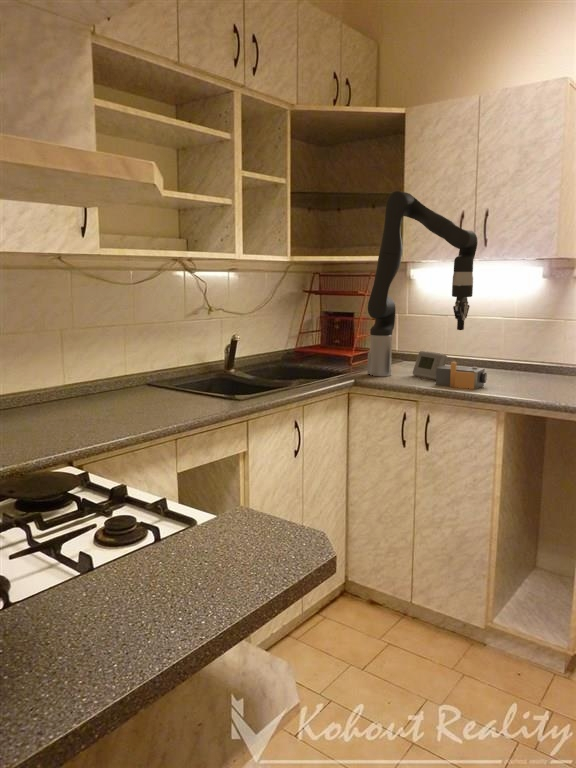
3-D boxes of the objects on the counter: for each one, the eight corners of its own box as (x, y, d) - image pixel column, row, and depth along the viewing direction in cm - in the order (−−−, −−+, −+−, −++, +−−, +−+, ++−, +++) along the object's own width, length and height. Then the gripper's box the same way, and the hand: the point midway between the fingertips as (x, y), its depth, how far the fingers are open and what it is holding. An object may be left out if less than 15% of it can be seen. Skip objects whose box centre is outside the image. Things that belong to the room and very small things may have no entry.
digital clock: (410, 375, 258) (411, 350, 256) (429, 374, 261) (430, 350, 259) (430, 381, 243) (431, 355, 241) (449, 380, 245) (451, 354, 243)
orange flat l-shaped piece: (449, 386, 230) (450, 362, 229) (450, 386, 232) (451, 361, 230) (476, 389, 225) (477, 364, 223) (477, 388, 227) (478, 363, 225)
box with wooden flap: (435, 384, 235) (436, 366, 234) (443, 381, 243) (444, 363, 241) (481, 389, 226) (482, 370, 225) (487, 385, 233) (488, 367, 232)
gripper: (458, 284, 236) (456, 328, 239) (447, 284, 225) (445, 330, 228) (477, 284, 232) (475, 329, 235) (467, 284, 221) (464, 331, 224)
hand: (460, 329), depth 231 cm, fingers closed
